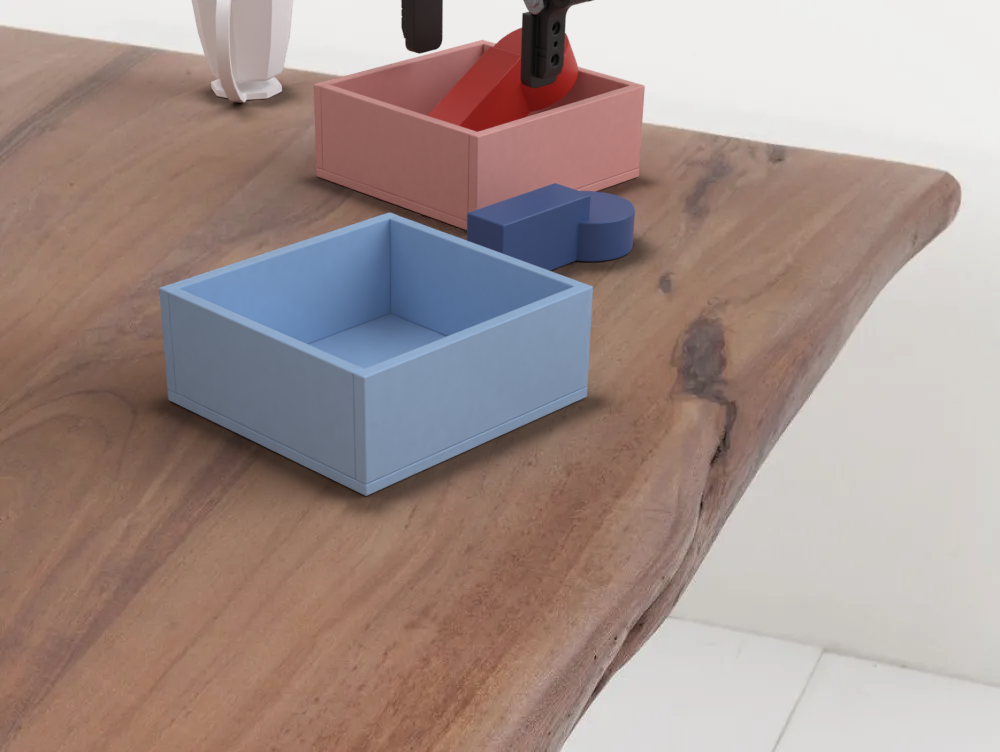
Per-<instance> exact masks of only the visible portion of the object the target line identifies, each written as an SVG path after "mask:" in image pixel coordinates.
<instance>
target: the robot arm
mask: <svg viewBox="0 0 1000 752" xmlns="http://www.w3.org/2000/svg"><path fill="white" fill-rule="evenodd" d="M593 1H594V0H522V2H523V3H524V5H525V8H526V9H527V11H526V12H522V13H521V14H522V15H521V16H522V17H521V28H522V43H521V75H520V79H521V83H522V84H523V85H524V86H528V87H531V88H539V87H542V86H546V85H549V84H552V83H554V82H555V81H556V79H557V76H558V74H561V71H562V68H563V65H564V47H565V46H564V44H565V33H566V22H567V13H568V12H569V9H570V8H571V7H573V6H575V5H576V6H578V5H580V4H584V3H588V2H593ZM400 2H401V5H400V6H401V10H400V11H401V13H400V14H401V23H400V24H401V31H402V36H403V39H404V44H405V48H406V50H407V51H409V52H412V53H415V54H424V53H428V52H431V51H435V50H439V48H440V47H441V46H442V43H443V38H444V37H443V36H444V35H443V33H444V32H443V24H444V23H443V22H444V21H443V20H444V18H443V15H444V12H443V11H444V9H443V8H444V0H400Z"/></svg>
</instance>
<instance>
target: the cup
mask: <svg viewBox="0 0 1000 752" xmlns="http://www.w3.org/2000/svg"><path fill="white" fill-rule="evenodd" d="M191 4H192V10H193V14H194V21H195V25H196V30H197V34H198V37H199V41H200V44H201V47H202V51H203V54H204V57H205V61H206V64H207V67H208V70H209V71H210V72H211V74H212V76H214V77H215V78H216V79H215V80H212V81H210V85H211V88H210V89H212V91H213V93H214V95H216V97H220V98H226V99H228V100H229V101H230V102H231V103H242V104H243V103H245V104H246V101H249V100H262V99H269V98H272V97H273V96H275V95H278V94H279V93H280V94H281V92H283V86H282V84H281V83H280V81H279V80H278V79H277V76H279V75H281V74H282V73H283V72H284V67H285V62H286V58H287V57H286V56H287V53H288V49H289V48H288V47H289V43H290V38H291V29H292V28H291V27H292V19H293V18H292V17H293V7H294V0H191Z"/></svg>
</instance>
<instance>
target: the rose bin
mask: <svg viewBox="0 0 1000 752" xmlns="http://www.w3.org/2000/svg"><path fill="white" fill-rule="evenodd" d="M496 43H497V42H496ZM496 43H495V42H492V41H489V40H485V39H481V40H480V39H479V40H478V41H477V40H476V41H473V42H469V43H466V44H465V43H464V44H462V45H461V44H460V45H457V46H453V47H450V48H446V49H442V50H438V51H434V52H430V53H427V54H423V55H419V56H415V57H412V58H408V59H403V60H400V61H396V62H392V63H388V64H385V65H381V66H377V67H373V68H370V69H366V70H365V69H364V70H362V71H358V72H354V73H350V74H347V75H343V76H339V77H336V78H332V79H328V80H324V81H319V82H316V83H313V108H314V109H313V110H314V113H313V114H314V140H315V141H314V142H315V144H314V145H315V173H316V174H315V175H316V177H317V178H320V179H323V180H326V181H328V182H331V183H335V184H337V185H340V186H342V187H345V188H348V189H351V190H354V191H356V192H359V193H362V194H365V195H368V196H370V197H374V198H376V199H379V200H382V201H384V202H387V203H390V204H393V205H395V206H398V207H401V208H404V209H406V210H408V211H412V212H415V213H417V214H420V215H422V216H425V217H427V218H428V217H429V218H432V219H434V220H437V221H440V222H443V223H445V224H448V225H451V226H453V227H456V228H460V229H462V230H464V231H467V214H468V213H469V212H472V211H475V210H478V209H480V208H483V207H486V206H489V205H492V204H495V203H498V202H501V201H504V200H507V199H510V198H513V197H516V196H519V195H522V194H525V193H528V192H530V191H533V190H536V189H539V188H542V187H545V186H548V185H551V184H554V183H556V184H560V185H563V186H566V187H569V188H572V189H575V190H578V191H596V192H600V191H601V190H604V189H607V188H609V187H613V186H616V185H619V184H622V183H624V182H628V181H631V180H632V179H635V178H638V177H639V176H640V163H641V149H642V135H643V134H642V133H643V118H644V105H645V104H644V103H645V90H646V89H645V88H646V86H645V85H644V84H642V83H641V84H640V83H636V82H633V81H630V80H626V79H624V78H620V77H616V76H613V75H609V74H605V73H601V72H598V71H594V70H592V69H588V68H584V67H582V66H581V67H580V66H578V77H577V80H576V82H575V84H574V86H573V87H572V89H571V90H570V91H569V92H568V93H567V94H566V95H565V96H564V97H563V98H562V99H560V100H559V101H557V102H556V103H554V104H552V105H550V106H548V107H546V108H544V109H541V110H537V111H533V112H530V113H529V114H528V115H527V116H526V117H525V118H522V119H518V120H515V121H512V122H508V123H505V124H502V125H499V126H495V127H492V128H489V129H485V130H482V131H479V132H476V131H473V130H470V129H467V128H464V127H461V126H457V125H454V124H451V123H448V122H445V121H442V120H439V119H436V118H432V117H429V116H427V115H428V114H429V113H430V112H431V111H432V110H433V109H434V108H435V107H436V105H437V104H438V103H439V102H440V101H441V100H442V99H443V98H444V97H445V96H446V94H447V93H448V92H449V91H450V90H451V89H452V88H453V87H454V86H455V85H456V84H457V82H458V81H459V80H460V79H461V78H462V77H463V76H464V75H465V74H466V73H467V71H468V70H469V69H470V68H471V67H472V66H473V65H474V64H475V63H476V62H477V61H478V59H479V58H480V57H481V56H482V55H483V54H484V53H485V52H486V51H487V50H488V49H489V47H494V45H495V44H496Z"/></svg>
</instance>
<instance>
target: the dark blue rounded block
mask: <svg viewBox="0 0 1000 752" xmlns="http://www.w3.org/2000/svg"><path fill="white" fill-rule="evenodd" d="M635 217H636V208H635V205H634V204H633V203H632V202H631V201H630V200H628V199H626V198H624V197H622V196H619V195H616V194H613V193H608V192H603V191H602V192H601V191H578V190H575V189H572V188H569V187H566V186H563V185H560V184H556V183H554V184H551V185H548V186H545V187H542V188H539V189H536V190H533V191H530V192H528V193H525V194H522V195H519V196H516V197H513V198H510V199H507V200H504V201H501V202H498V203H495V204H492V205H489V206H486V207H483V208H480V209H478V210H475V211H472V212H469V213H468V214H467V230H466V241H469V242H472V243H475V244H477V245H480V246H483V247H486V248H488V249H491V250H494V251H497V252H499V253H502V254H505V255H508V256H510V257H513V258H516V259H519V260H521V261H524V262H527V263H530V264H532V265H535V266H538V267H541V268H543V269H546V270H549V271H553V270H556V269H558V268H561V267H564V266H566V265H569V264H571V263H574V262H587V263H591V262H594V263H595V262H606V261H612V260H615V259H619V258H622V257H624V256H627V254H629V253H630V252H631V251H632V249H633V247H634V246H633V245H634V232H635V231H634V230H635V220H636V219H635Z"/></svg>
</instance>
